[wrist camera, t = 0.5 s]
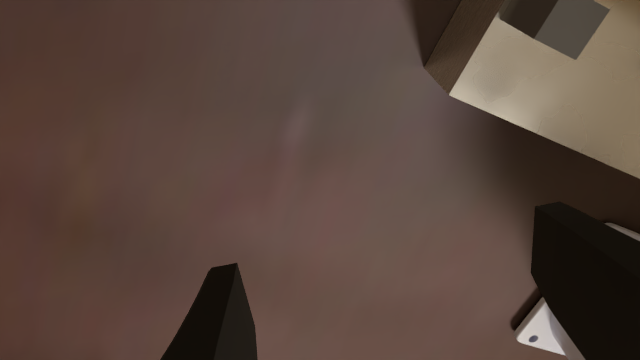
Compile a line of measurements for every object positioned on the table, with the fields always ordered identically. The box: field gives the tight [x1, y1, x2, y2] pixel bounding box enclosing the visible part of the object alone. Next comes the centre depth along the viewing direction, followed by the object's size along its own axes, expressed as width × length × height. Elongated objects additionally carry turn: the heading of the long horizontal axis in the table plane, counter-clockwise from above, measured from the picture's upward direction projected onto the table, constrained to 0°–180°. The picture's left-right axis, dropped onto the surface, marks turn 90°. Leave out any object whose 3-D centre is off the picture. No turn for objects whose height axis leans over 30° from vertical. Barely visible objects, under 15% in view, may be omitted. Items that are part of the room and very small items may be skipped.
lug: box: [500, 0, 610, 60], centre depth 17 cm, size 2×2×2 cm
